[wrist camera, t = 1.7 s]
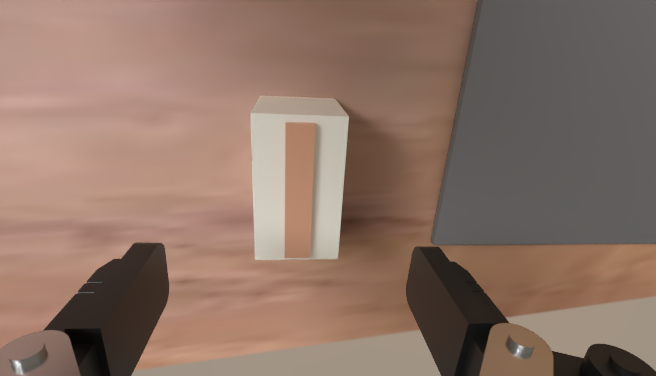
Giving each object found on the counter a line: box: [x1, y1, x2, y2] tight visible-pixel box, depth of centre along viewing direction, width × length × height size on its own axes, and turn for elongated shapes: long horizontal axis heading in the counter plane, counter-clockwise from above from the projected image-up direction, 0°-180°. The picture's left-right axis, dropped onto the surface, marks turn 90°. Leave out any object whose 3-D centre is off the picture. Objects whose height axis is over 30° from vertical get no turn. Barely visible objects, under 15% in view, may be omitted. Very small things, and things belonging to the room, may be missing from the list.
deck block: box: [250, 95, 349, 260], centre depth 18 cm, size 7×4×5 cm, turn 177°
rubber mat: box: [431, 0, 656, 245], centre depth 21 cm, size 15×20×1 cm
